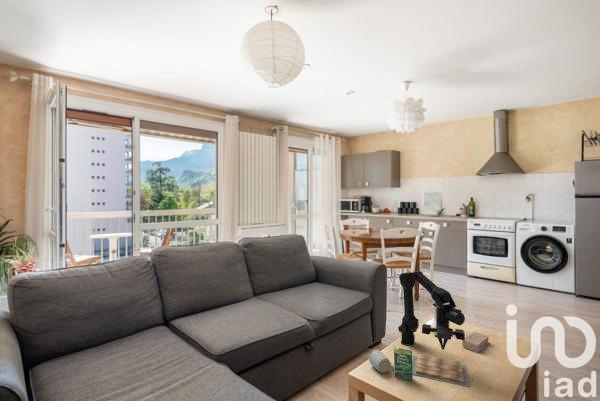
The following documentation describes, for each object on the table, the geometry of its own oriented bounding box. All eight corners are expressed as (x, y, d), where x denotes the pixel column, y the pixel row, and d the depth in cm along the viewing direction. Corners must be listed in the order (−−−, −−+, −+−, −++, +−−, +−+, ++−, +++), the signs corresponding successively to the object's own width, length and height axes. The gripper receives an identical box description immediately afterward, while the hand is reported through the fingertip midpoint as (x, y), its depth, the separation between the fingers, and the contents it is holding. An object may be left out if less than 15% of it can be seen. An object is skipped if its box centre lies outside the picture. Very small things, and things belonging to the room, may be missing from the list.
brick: (473, 337, 180) (473, 330, 180) (489, 343, 174) (489, 335, 173) (461, 348, 169) (461, 339, 169) (478, 354, 163) (478, 345, 163)
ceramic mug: (378, 375, 144) (379, 359, 144) (368, 366, 152) (368, 351, 151) (397, 371, 148) (397, 355, 148) (386, 362, 156) (386, 347, 155)
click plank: (416, 365, 152) (416, 362, 151) (417, 355, 158) (417, 353, 158) (462, 374, 144) (462, 372, 143) (461, 364, 150) (461, 361, 150)
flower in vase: (450, 331, 187) (450, 290, 187) (434, 334, 184) (434, 292, 183) (435, 322, 200) (435, 284, 199) (420, 325, 197) (420, 286, 196)
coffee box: (393, 376, 143) (393, 348, 143) (394, 373, 146) (394, 346, 145) (411, 381, 139) (411, 353, 139) (412, 378, 142) (413, 350, 141)
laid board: (415, 373, 145) (415, 370, 145) (416, 365, 151) (416, 363, 151) (463, 383, 137) (463, 380, 137) (462, 375, 143) (462, 372, 143)
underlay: (410, 374, 145) (410, 373, 145) (413, 356, 160) (413, 355, 160) (469, 386, 135) (469, 386, 135) (465, 366, 151) (465, 365, 151)
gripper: (421, 320, 147) (421, 353, 148) (465, 327, 139) (465, 361, 140) (422, 312, 157) (422, 342, 158) (464, 317, 150) (464, 350, 150)
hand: (442, 349), depth 151 cm, fingers closed
